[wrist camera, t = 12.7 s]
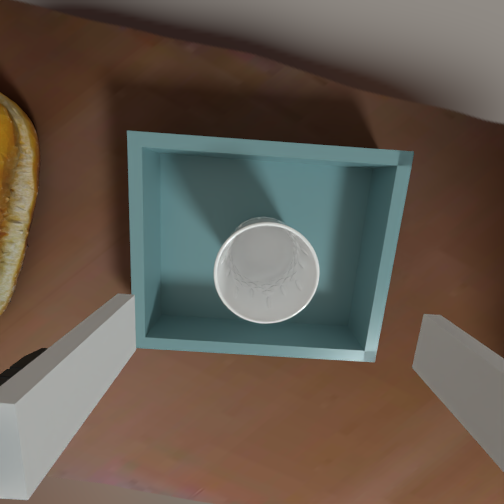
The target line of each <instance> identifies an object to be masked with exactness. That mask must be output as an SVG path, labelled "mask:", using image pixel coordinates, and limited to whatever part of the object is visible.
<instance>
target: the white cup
mask: <svg viewBox="0 0 504 504" xmlns="http://www.w3.org/2000/svg"><path fill="white" fill-rule="evenodd" d="M318 282H319V262H318V258H317V255H316V253H315V251H314V249H313V247H312V245H311V244H310V243H309V241H308V240H307V239H306V238H305V237H304V236H303V235H302V234H301V233H299V232H298V231H296V230H295V229H293V228H292V227H290V226H289V225H287V224H285V223H284V222H281V221H279V220H277V219H274V218H270V217H267V216H262V217H253V218H250V219H248V220H247V221H245V222H243V223H242V224H240V225H239V226H238V227H237V228H236V229H235V230H234V231H233V232H232V233H231V234H230V236H229V237H228V238H227V240H226V241H225V242H224V244H223V245H222V247H221V248H220V250H219V252H218V254H217V257H216V260H215V264H214V283H215V287H216V290H217V292H218V295H219V297H220V298H221V300H222V301H223V303H224V304H225V305H226V306H227V307H228V309H230V310H231V311H232V312H233V313H234V314H236V315H237V316H239V317H241V318H243V319H245V320H248V321H251V322H255V323H265V324H267V323H276V322H281V321H284V320H287V319H289V318H291V317H293V316H295V315H296V314H298V313H299V312H300V311H301V310H303V309H304V308H305V307H306V306H307V304H308V303H309V302H310V301H311V299H312V297H313V296H314V294H315V292H316V289H317V286H318Z"/></svg>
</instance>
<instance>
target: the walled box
mask: <svg viewBox="0 0 504 504" xmlns="http://www.w3.org/2000/svg"><path fill="white" fill-rule="evenodd" d="M127 148H128V184H129V219H130V255H131V290H132V295H135V329H136V348H146V349H163V350H180V351H196V352H213V353H230V354H246V355H263V356H280V357H296V358H313V359H330V360H346V361H363V362H375V358H376V353H377V347H378V342H379V337H380V331H381V326H382V321H383V315H384V310H385V305H386V299H387V294H388V289H389V283H390V278H391V273H392V267H393V262H394V257H395V251H396V246H397V241H398V235H399V230H400V225H401V219H402V214H403V209H404V203H405V198H406V193H407V187H408V182H409V177H410V171H411V166H412V161H413V155H414V152H412V151H398V150H385V149H371V148H357V147H344V146H330V145H317V144H303V143H289V142H276V141H262V140H249V139H235V138H221V137H208V136H194V135H181V134H167V133H153V132H140V131H127ZM262 216H267V217H270V218H274V219H277V220H279V221H281V222H284V223H285V224H287V225H289V226H290V227H292V228H293V229H295V230H296V231H298V232H299V233H301V234H302V235H303V236H304V237H305V238H306V239H307V240H308V241H309V243H310V244H311V245H312V247H313V249H314V251H315V253H316V255H317V258H318V262H319V282H318V286H317V289H316V292H315V294H314V296H313V297H312V299H311V301H310V302H309V303H308V304H307V306H306V307H305V308H304V309H303V310H301V311H300V312H299V313H298V314H296V315H295V316H293V317H291V318H289V319H287V320H284V321H281V322H276V323H267V324H265V323H255V322H251V321H248V320H245V319H243V318H241V317H239V316H237V315H236V314H234V313H233V312H232V311H231V310H230V309H228V307H227V306H226V305H225V304H224V303H223V301H222V300H221V298H220V297H219V295H218V292H217V290H216V287H215V283H214V264H215V260H216V257H217V254H218V252H219V250H220V248H221V247H222V245H223V244H224V242H225V241H226V240H227V238H228V237H229V236H230V234H231V233H232V232H233V231H234V230H235V229H236V228H237V227H238V226H239V225H240V224H242V223H243V222H245V221H247V220H248V219H250V218H253V217H262Z"/></svg>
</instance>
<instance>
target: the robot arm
mask: <svg viewBox="0 0 504 504" xmlns="http://www.w3.org/2000/svg"><path fill="white" fill-rule="evenodd" d="M135 350H136V329H135V295H130V294H117V295H115V296H114V297H113V298H112V299H110V300H109V301H108V302H106V303H105V304H104V305H103V306H101V307H100V308H99V309H98V310H96V311H95V312H94V313H93V314H91V315H90V316H89V317H87V318H86V319H85V320H84V321H82V322H81V323H80V324H79V325H77V326H76V327H75V328H74V329H72V330H71V331H70V332H68V333H67V334H66V335H65V336H63V337H62V338H61V339H60V340H58V341H57V342H56V343H54V344H53V345H52V346H51V347H49V348H41V349H39V350H37V351H35V352H33V353H31V354H28V355H26V356H24V357H23V358H21V359H20V360H19V361H17V362H16V363H15V364H13V365H12V366H11V367H10V369H7V370H5V371H4V372H3V373H1V374H0V498H3V499H21V500H28V499H29V498H30V496H31V495H32V493H33V492H34V491H35V489H36V488H37V487H38V485H39V484H40V482H41V481H42V480H43V478H44V477H45V476H46V474H47V473H48V471H49V470H50V469H51V467H52V466H53V464H54V463H55V462H56V460H57V459H58V457H59V456H60V455H61V453H62V452H63V451H64V449H65V448H66V446H67V445H68V444H69V442H70V441H71V439H72V438H73V437H74V435H75V434H76V432H77V431H78V430H79V428H80V427H81V425H82V424H83V423H84V421H85V420H86V419H87V417H88V416H89V414H90V413H91V412H92V410H93V409H94V407H95V406H96V405H97V403H98V402H99V400H100V399H101V398H102V396H103V395H104V394H105V392H106V391H107V389H108V388H109V387H110V385H111V384H112V382H113V381H114V380H115V378H116V377H117V375H118V374H119V373H120V371H121V370H122V369H123V367H124V366H125V364H126V363H127V362H128V360H129V359H130V357H131V356H132V355H133V353H134V352H135ZM412 368H413V369H414V370H415V371H416V373H417V374H418V375H419V376H420V377H421V378H422V379H423V381H424V382H425V383H426V384H427V385H428V386H429V387H430V389H431V390H432V391H433V392H434V393H435V394H436V395H437V396H438V398H439V399H440V400H441V401H442V402H443V403H444V404H445V406H446V407H447V408H448V409H449V410H450V411H451V412H452V414H453V415H454V416H455V417H456V418H457V419H458V420H459V422H460V423H461V424H462V425H463V426H464V427H465V428H466V430H467V431H468V432H469V433H470V434H471V435H472V436H473V438H474V439H475V440H476V441H477V442H478V443H479V444H480V446H481V447H482V448H483V449H484V450H485V451H486V452H487V454H488V455H489V456H490V457H491V458H492V459H493V460H494V462H495V463H496V464H497V465H498V466H499V467H500V468H501V469H502V471H503V472H504V358H502V357H501V356H499V355H498V354H496V353H495V352H493V351H492V350H490V349H489V348H488V347H486V346H485V345H483V344H482V343H480V342H479V341H477V340H476V339H474V338H473V337H472V336H470V335H469V334H467V333H466V332H464V331H463V330H461V329H460V328H458V327H457V326H456V325H454V324H453V323H451V322H450V321H448V320H447V319H445V318H444V317H442V316H441V315H431V314H424V315H423V320H422V325H421V329H420V334H419V338H418V343H417V347H416V352H415V357H414V361H413V366H412Z"/></svg>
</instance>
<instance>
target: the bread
mask: <svg viewBox="0 0 504 504" xmlns="http://www.w3.org/2000/svg"><path fill="white" fill-rule="evenodd" d="M39 172H40V147H39V139H38V136H37V133H36V130H35V128H34V126H33V123H32V121H31V120H30V119H29V117H28V116H27V115H26V113H25V112H24V111H23V110H22V109H21V108H20V107H19V106H18V105H17V104H16V103H15V102H13V101H12V100H10V99H9V98H8V97H6V96H5V95H3V94H2V93H1V92H0V316H1V314H2V313H3V312H4V311H5V310H6V308H7V306H8V304H9V303H10V302H11V301H10V299H11V297H12V294H13V293H14V292H15V288H16V285H17V281H18V276H19V275H20V272H21V269H22V268H23V267H22V264H23V261H24V256H25V252H26V248H27V247H28V244H27V238H28V235H29V230H30V227H31V223H32V220H33V212H34V209H35V205H36V199H37V195H38V188H39Z"/></svg>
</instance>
